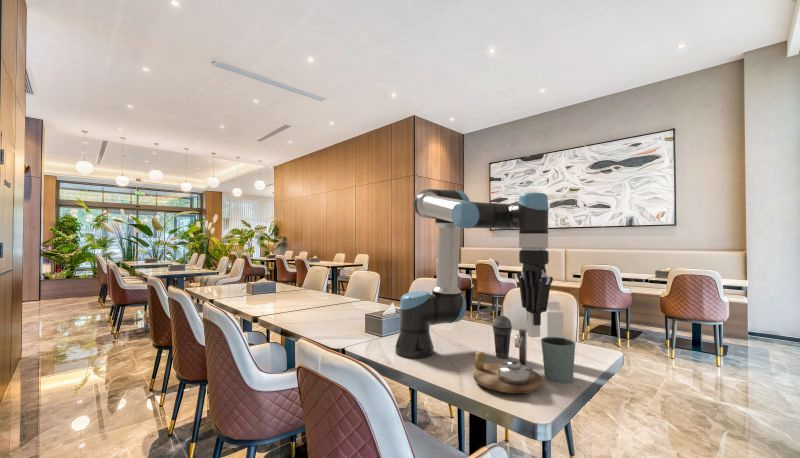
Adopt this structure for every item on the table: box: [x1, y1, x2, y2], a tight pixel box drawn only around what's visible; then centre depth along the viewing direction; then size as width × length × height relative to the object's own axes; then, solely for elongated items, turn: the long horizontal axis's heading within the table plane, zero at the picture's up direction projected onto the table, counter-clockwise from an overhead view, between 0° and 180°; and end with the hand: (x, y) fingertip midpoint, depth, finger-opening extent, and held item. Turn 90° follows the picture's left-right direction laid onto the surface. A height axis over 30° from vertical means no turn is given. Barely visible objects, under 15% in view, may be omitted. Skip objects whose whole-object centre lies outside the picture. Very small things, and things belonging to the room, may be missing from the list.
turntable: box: [473, 351, 542, 394], centre depth 109 cm, size 20×20×6 cm
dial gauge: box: [514, 328, 533, 370], centre depth 117 cm, size 5×12×14 cm, turn 149°
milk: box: [539, 301, 565, 362], centre depth 130 cm, size 6×6×22 cm
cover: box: [498, 359, 530, 386], centre depth 105 cm, size 9×9×5 cm
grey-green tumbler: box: [541, 337, 576, 384], centre depth 114 cm, size 10×10×12 cm
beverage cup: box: [491, 304, 513, 360], centre depth 135 cm, size 7×7×20 cm
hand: (534, 336), depth 96 cm, fingers closed
